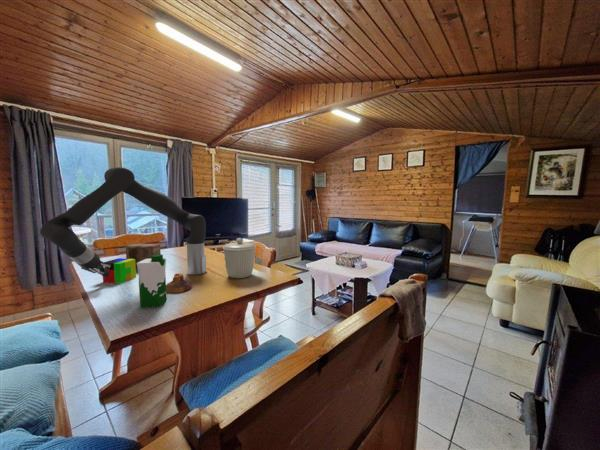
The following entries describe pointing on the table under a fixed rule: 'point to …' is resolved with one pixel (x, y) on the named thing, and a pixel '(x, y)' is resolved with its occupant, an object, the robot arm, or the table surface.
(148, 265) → the milk carton
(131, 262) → the puzzle toy
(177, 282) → the bell
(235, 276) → the canister
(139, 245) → the brown wooden box
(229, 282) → the table surface
